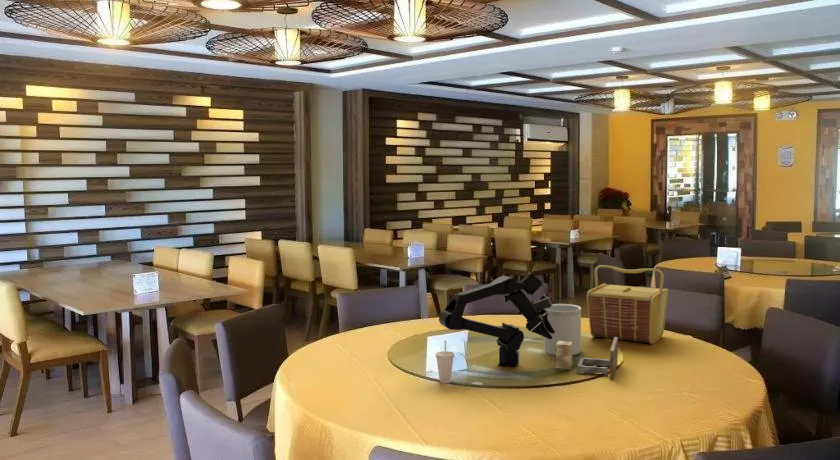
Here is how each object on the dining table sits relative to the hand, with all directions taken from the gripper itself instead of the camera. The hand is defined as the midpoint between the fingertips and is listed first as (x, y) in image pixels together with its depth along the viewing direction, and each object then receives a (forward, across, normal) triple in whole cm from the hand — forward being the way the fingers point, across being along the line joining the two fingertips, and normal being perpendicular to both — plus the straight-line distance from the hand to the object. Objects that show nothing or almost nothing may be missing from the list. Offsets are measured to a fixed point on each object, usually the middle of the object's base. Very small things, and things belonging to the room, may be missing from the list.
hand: (552, 335), depth 260 cm
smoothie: (-15, -28, +32) cm, 45 cm away
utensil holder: (+9, +21, +7) cm, 24 cm away
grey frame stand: (+18, -2, -3) cm, 19 cm away
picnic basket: (+26, +51, -11) cm, 58 cm away
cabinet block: (+11, -1, +5) cm, 12 cm away
